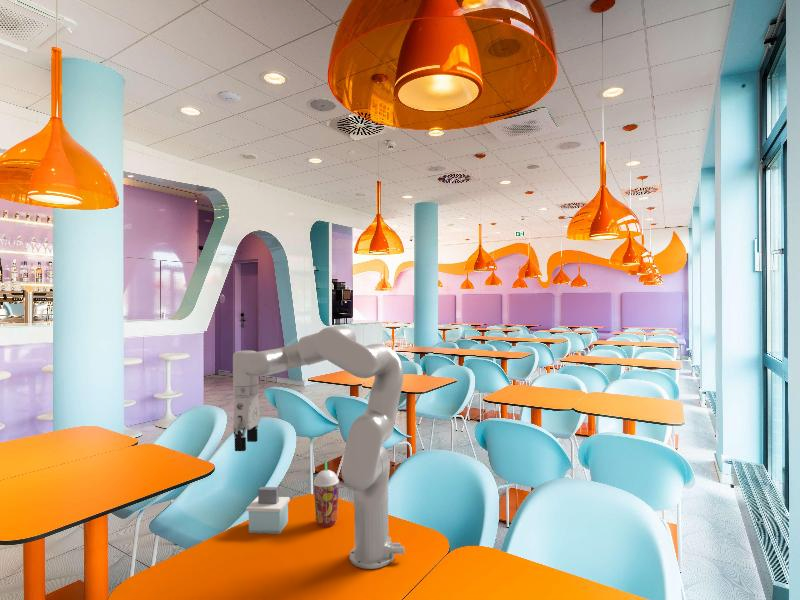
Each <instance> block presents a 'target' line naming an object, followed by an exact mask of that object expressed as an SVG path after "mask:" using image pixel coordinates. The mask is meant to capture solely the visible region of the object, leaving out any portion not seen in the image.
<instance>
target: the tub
mask: <svg viewBox="0 0 800 600" xmlns="http://www.w3.org/2000/svg"><path fill="white" fill-rule="evenodd" d="M288 505H289V502H288V503H287V504H286V506H285V507H284V508H283V509H282V511H281V512H261V511H248V533H249V534H274V535H275V534H277V535H279V534H281V533H282V531H283V530H284V528H285V527H286V525H287V524H288V523H289V506H288Z"/></svg>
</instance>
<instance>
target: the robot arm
mask: <svg viewBox="0 0 800 600" xmlns="http://www.w3.org/2000/svg"><path fill="white" fill-rule="evenodd" d="M324 361H328V362H329V363H332V364H333V366H336V367H338V368H340V369H341V370H343V371H345V372H347V373H348V374H350V375H351V376H354V377H355V378H360V379H368V378H372V377H374V380H373V383H372V385H371V387H370V391H369V396H368V401H367V405H366V408H365V411H364V413H362V414H361V415H359V416H358V417H357V418H355V419H354V421H353V422H352V423H351V426H350V428H349V429H348V430H349V431H348V434H347V439H346V443H345V448H344V453H343V457H342V458H343V459H342V463H341V478H342V481H343V483H344V484H345V486H346V487H348V489H350V490H352V491H354V496H353V497H354V503H353V504H354V506H353V507H354V510H353V511H354V547H353V548H352V549H351V550H350V552H349V561H350V562H351V564H352V565H354V566H356V567H358V568H360V569H365V570H367V569H368V570H373V569H380V568H383V567H386V566H387V565H389V564H391V563H392V562H393V561H394V558H395V554H397V555H404V554H405V546H402V544H401V542H393V541H392V537H391V536H389V482H390V481H389V479H390V470H391V469H390V467H391V460H390V455H389V453H388V450H387V448H385V447H384V445H383V444H384V443H385V442H387V441H388V440H389V439H390V438H391V436H392V434H393V432H394V429H395V424H396V423H395V422H396V419H397V414H398V410H399V409H398V408H399V403H400V399H401V393H402V388H403V383H404V367H403V364H402V361H401V359H400V357H399V355H398V354H397V353H396V352H395V351H394V350H393V349H392V348H391V347H389V346H388V345H385V344H382V343H372V344H368V345H363V344H361V343H359V342H358V341H357V337H356V334H355V331H353V330H352V329H351V328H350V327H348V326H345V325H336V326H328V327H324V328H323V329H321V330H320V331H318V332H315V333H312V334H309V335H306V336H305V335H304V336H302V337H301V338H299V340H298V342H296V343H292V344H289V345H285V346H281V347H279V348H273V349H267V350H261V351H255V350H252V349H251V350H250V349H249V350H239V351H235V352H234V353H233V354H232V396H233V397H234V405H233V426H232V428H233V438H234V451H235V452H246V450H247V442H248V443H254V442H255V443H256V442H258V440H259V438H258V429H259V428H258V427H259V424H260V421H261V418H260V417H261V414H260V413H261V411H260V400H259V395H260V388H259V387H260V385H259V380H260V379H259V377H266V376H270V375H274V374H278V373H281V372H285V371H290V370H293V369H295V368H300V367H302V366H303V367H304V366H311V365H314V364H317V363H321V362H324Z"/></svg>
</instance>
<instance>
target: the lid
mask: <svg viewBox="0 0 800 600" xmlns="http://www.w3.org/2000/svg"><path fill="white" fill-rule="evenodd" d="M279 489H280V488H279V487H278V486H260V487H259V488H258V489H257V491H258V492H257V495H258V496H256V497H255V499H253V501H251V502H250V504H248V506H247V507H246V509H245V510H246V512H249V511H261V512H281V511H282V509H283V508H284V507H285V506H286V504H287V503H288V504H289V502H290V501H291V497H289V496H280V494H279V493H280V490H279Z"/></svg>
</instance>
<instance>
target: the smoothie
mask: <svg viewBox="0 0 800 600" xmlns="http://www.w3.org/2000/svg"><path fill="white" fill-rule="evenodd" d="M339 482H340V479H339V478H338V476H337V474H336V473H335V472H334V471H332V470H331V469H328V461H325V462H324V469H323V470H321V471H320V472H318V473H317V474H316V476H315V478H314V481H313V482H312V483H313V494H314V495H313V496H314V507H315V508H314V509H315V510H314V511H315V521H316V522H317V525H318V526H319V527H322V528H329V527H332V526H334V525H335V524H336V521H337V520H338V509H339V486H340V485H339Z"/></svg>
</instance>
